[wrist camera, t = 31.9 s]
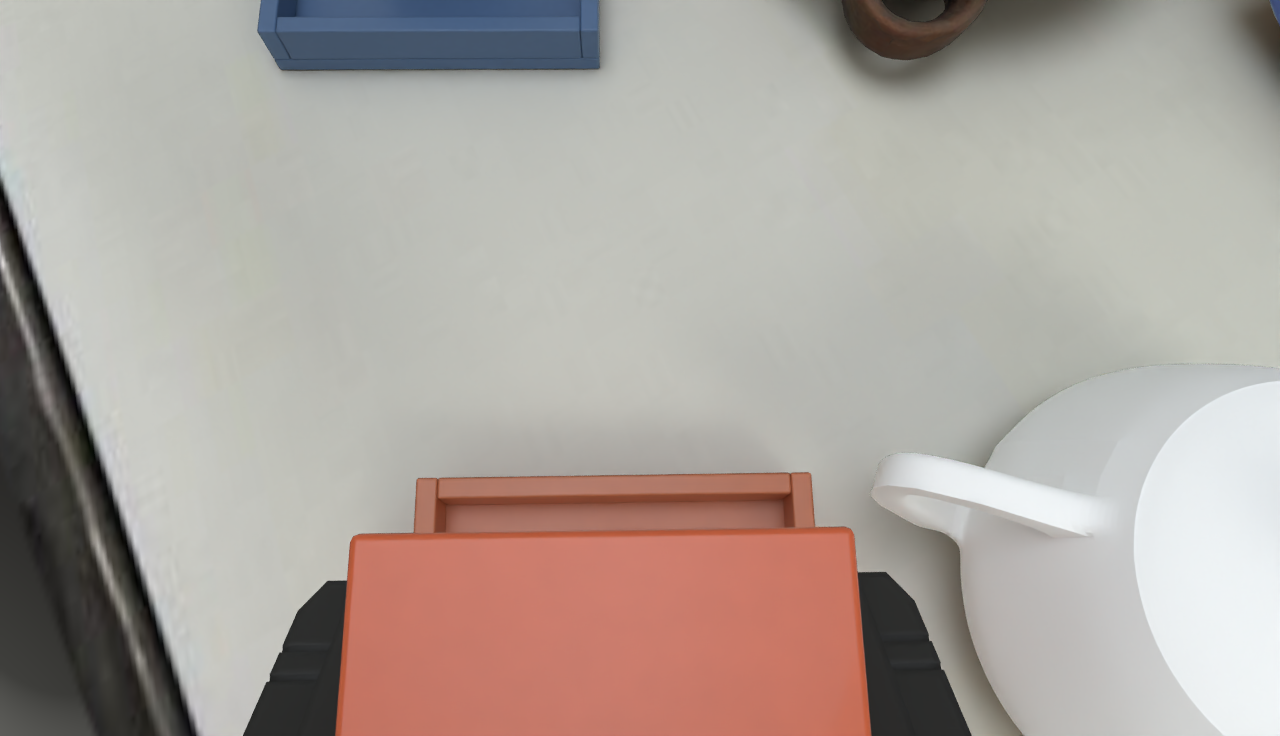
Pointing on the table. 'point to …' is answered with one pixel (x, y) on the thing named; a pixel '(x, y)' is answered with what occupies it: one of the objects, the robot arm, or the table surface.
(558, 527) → the terracotta tray
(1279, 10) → the lunch box
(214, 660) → the table surface
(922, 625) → the robot arm
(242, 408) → the table surface
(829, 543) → the terracotta block
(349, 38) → the blue tray
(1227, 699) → the teapot
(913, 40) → the dish
